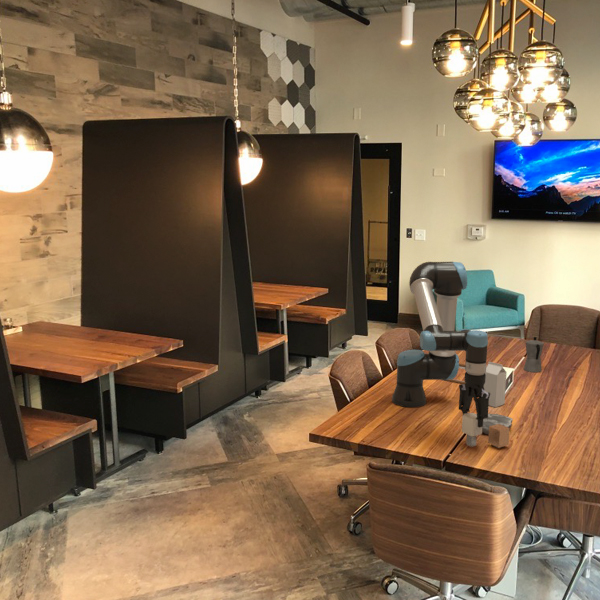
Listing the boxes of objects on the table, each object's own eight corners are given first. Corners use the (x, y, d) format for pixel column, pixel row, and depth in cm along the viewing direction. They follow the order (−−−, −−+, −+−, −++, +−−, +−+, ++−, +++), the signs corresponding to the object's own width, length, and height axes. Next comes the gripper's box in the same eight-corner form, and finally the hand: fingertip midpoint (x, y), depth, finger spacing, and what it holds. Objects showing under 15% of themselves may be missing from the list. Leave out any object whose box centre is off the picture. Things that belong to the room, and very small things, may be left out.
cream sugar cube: (461, 431, 251) (462, 415, 250) (471, 429, 254) (472, 412, 253) (471, 436, 247) (472, 419, 246) (481, 433, 249) (482, 417, 248)
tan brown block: (488, 445, 251) (489, 426, 250) (497, 442, 254) (498, 423, 253) (498, 450, 247) (499, 430, 246) (508, 447, 250) (509, 428, 248)
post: (466, 444, 252) (467, 427, 251) (471, 443, 253) (472, 425, 252) (471, 447, 250) (472, 429, 248) (476, 445, 251) (477, 428, 250)
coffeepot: (520, 366, 358) (522, 333, 355) (538, 366, 358) (541, 334, 354) (527, 374, 343) (530, 340, 340) (546, 375, 343) (549, 341, 339)
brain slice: (479, 416, 283) (479, 409, 282) (518, 426, 272) (518, 419, 272) (458, 429, 268) (458, 422, 267) (498, 440, 257) (499, 432, 257)
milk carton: (495, 407, 293) (497, 366, 289) (481, 403, 298) (484, 362, 295) (504, 404, 297) (507, 363, 294) (491, 400, 303) (493, 360, 299)
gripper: (450, 368, 252) (447, 426, 256) (486, 380, 237) (482, 442, 241) (464, 365, 256) (461, 422, 260) (501, 377, 240) (497, 438, 245)
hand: (471, 432), depth 250 cm, fingers closed on cream sugar cube, 5 cm apart
